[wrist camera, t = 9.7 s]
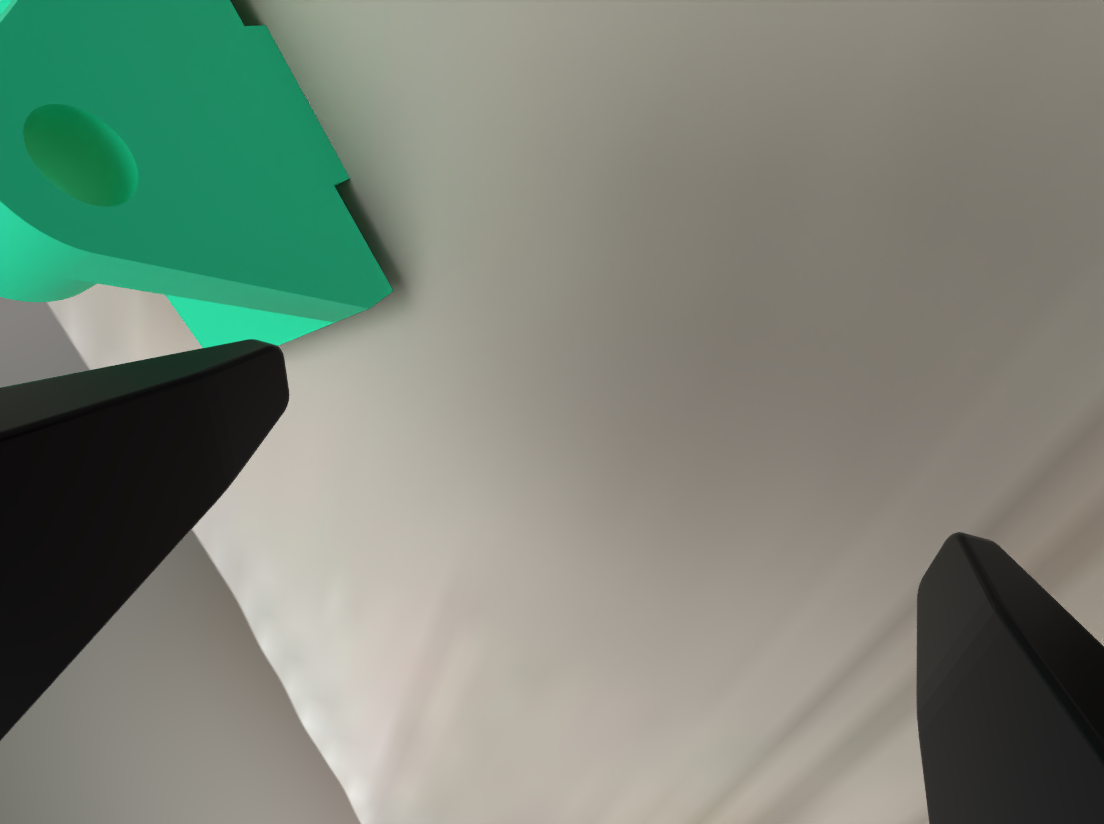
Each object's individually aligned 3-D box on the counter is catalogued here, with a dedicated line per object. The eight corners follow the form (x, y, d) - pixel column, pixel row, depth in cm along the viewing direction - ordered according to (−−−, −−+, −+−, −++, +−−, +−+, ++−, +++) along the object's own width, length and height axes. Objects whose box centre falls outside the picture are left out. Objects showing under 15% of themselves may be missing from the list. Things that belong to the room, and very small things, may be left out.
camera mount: (56, 25, 22) (-403, 41, 13) (194, -113, 18) (-313, -204, 10) (265, 339, 26) (17, 498, 18) (409, 279, 23) (183, 443, 14)
